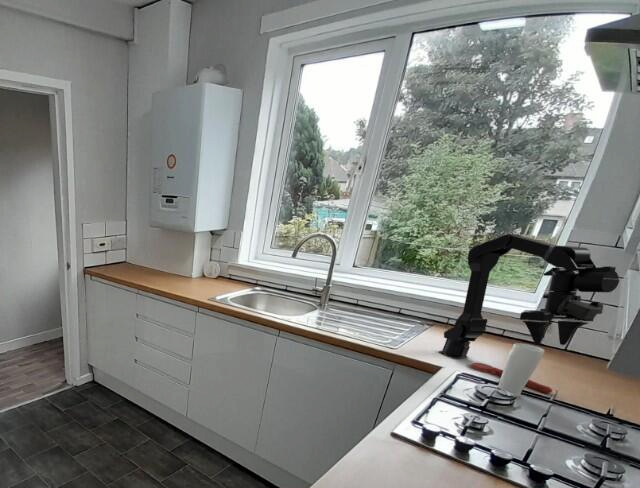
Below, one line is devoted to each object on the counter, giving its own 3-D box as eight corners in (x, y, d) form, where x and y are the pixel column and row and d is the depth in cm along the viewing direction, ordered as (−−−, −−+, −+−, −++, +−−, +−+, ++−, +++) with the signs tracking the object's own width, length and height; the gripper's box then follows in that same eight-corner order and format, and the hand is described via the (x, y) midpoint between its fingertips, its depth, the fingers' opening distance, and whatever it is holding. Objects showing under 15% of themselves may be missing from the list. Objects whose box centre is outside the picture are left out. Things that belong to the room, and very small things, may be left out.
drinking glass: (510, 390, 124) (532, 344, 119) (528, 400, 118) (552, 352, 112) (486, 388, 125) (507, 342, 119) (503, 398, 119) (526, 350, 113)
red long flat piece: (466, 366, 142) (469, 360, 141) (479, 365, 143) (481, 359, 143) (543, 395, 122) (546, 389, 121) (556, 393, 124) (559, 387, 123)
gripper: (569, 291, 109) (556, 349, 112) (624, 292, 112) (610, 349, 115) (524, 291, 120) (512, 343, 123) (575, 292, 123) (563, 343, 126)
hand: (550, 344), depth 121 cm, fingers open, 9 cm apart
